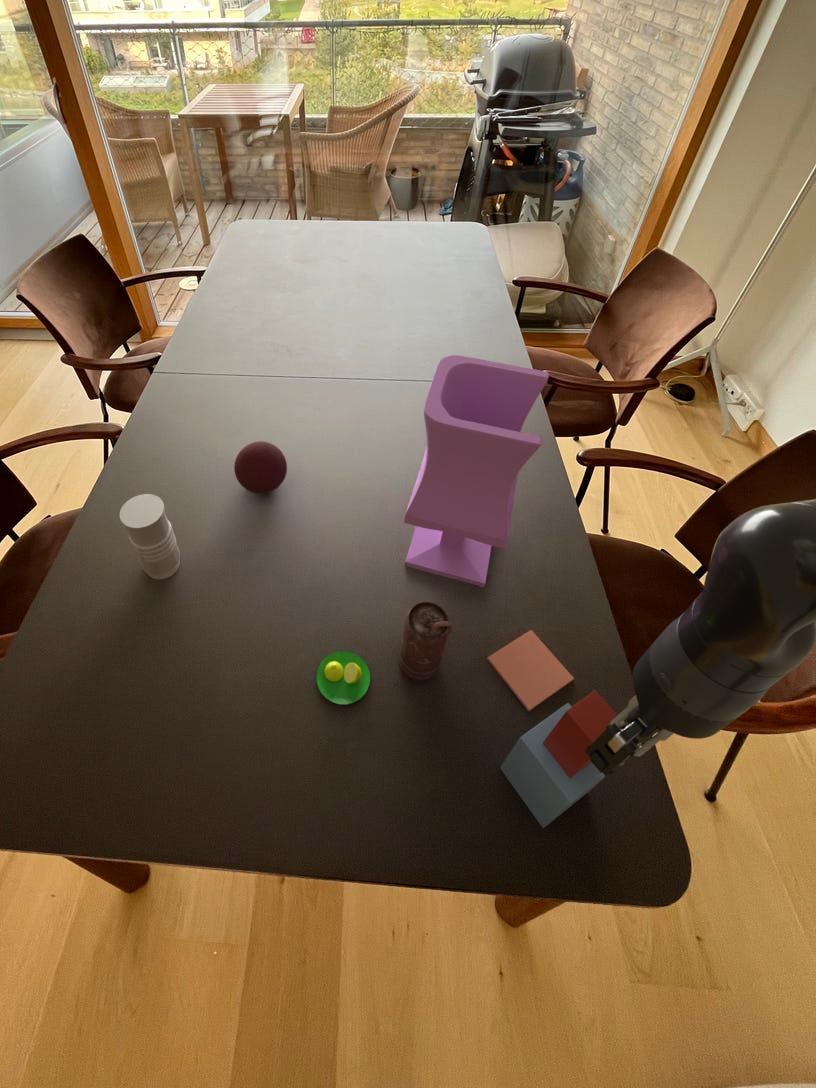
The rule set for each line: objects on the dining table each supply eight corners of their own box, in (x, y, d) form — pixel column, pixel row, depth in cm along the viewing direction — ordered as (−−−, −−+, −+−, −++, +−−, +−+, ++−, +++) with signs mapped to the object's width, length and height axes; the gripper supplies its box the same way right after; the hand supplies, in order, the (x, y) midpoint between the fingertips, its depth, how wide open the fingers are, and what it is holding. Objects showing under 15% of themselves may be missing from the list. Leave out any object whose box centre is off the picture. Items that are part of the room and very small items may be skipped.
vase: (488, 593, 95) (542, 445, 70) (397, 568, 99) (418, 418, 74) (500, 522, 105) (550, 371, 81) (417, 502, 109) (441, 351, 84)
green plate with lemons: (365, 649, 88) (366, 641, 86) (374, 702, 83) (375, 694, 81) (314, 656, 88) (313, 647, 86) (319, 709, 82) (318, 701, 80)
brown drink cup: (442, 685, 84) (456, 641, 74) (399, 684, 84) (407, 640, 74) (437, 646, 89) (450, 599, 79) (396, 645, 89) (404, 599, 79)
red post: (597, 757, 66) (628, 726, 59) (570, 778, 65) (598, 749, 58) (568, 723, 69) (595, 689, 62) (542, 743, 68) (566, 711, 60)
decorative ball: (280, 508, 108) (276, 472, 101) (230, 499, 110) (222, 463, 102) (294, 470, 115) (291, 434, 108) (247, 462, 116) (241, 427, 109)
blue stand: (588, 792, 74) (620, 763, 66) (543, 828, 72) (570, 803, 63) (543, 736, 79) (568, 702, 71) (499, 768, 76) (520, 737, 68)
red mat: (573, 680, 85) (574, 678, 84) (528, 711, 82) (529, 710, 81) (530, 631, 90) (531, 629, 90) (486, 659, 87) (487, 657, 87)
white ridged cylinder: (133, 569, 99) (109, 515, 88) (163, 542, 103) (143, 487, 92) (161, 589, 96) (139, 535, 85) (191, 560, 100) (173, 505, 89)
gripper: (684, 764, 42) (609, 818, 53) (796, 667, 47) (705, 736, 58) (603, 676, 46) (550, 743, 58) (713, 597, 51) (644, 673, 63)
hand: (628, 740), depth 58 cm, fingers open, 8 cm apart
